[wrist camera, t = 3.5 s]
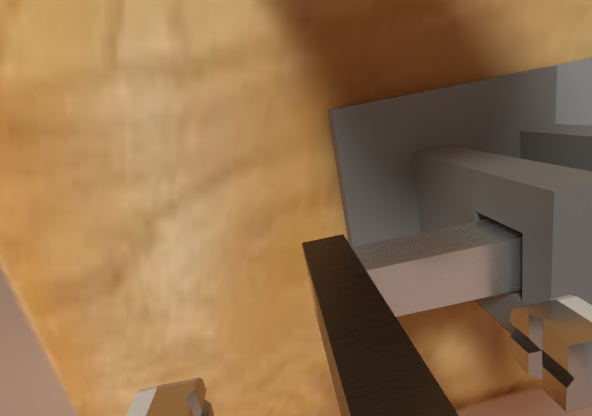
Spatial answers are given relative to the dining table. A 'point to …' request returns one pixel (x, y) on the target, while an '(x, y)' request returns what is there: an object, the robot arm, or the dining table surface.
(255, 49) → the dining table surface
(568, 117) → the mat
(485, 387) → the dining table surface
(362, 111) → the bearing stand
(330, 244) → the shaft
